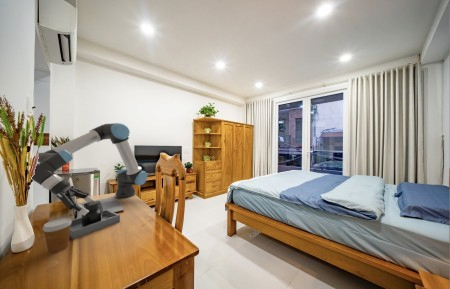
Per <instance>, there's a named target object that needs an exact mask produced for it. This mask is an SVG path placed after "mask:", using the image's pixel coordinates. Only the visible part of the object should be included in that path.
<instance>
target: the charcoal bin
mask: <svg viewBox="0 0 450 289" xmlns="http://www.w3.org/2000/svg"><path fill="white" fill-rule="evenodd" d="M101 212H102V221H99V222H97V223H94V224H91V225H88V226H85V227H82V216H81V217H78V218H74V219H70V220H71V221H72V223H71V225H70V233H69V239H71V240H76V239H78V238H81V237H85V236H87V235H89V234H91V233H94V232H97V231H99V230H102V229H104V228H107V227H110V226H112V225H115V224H117V223H120V222H121V215H120V214H118V213H116V212H114V211H112V210H110V209H104V210H101Z"/></svg>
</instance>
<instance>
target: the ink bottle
mask: <svg viewBox="0 0 450 289" xmlns="http://www.w3.org/2000/svg"><path fill="white" fill-rule="evenodd" d="M83 207H84V208H85V209H87V210H88V211H89V212H88V213H87V214H86V215H85V216H84V215H82V214H81V217H82V227H85V226H88V225H91V224H94V223H97V222H99V221H102V212H101V211H102V210H101V209H100V201H97V200H95V201H93V202H86V203H84V204H83Z"/></svg>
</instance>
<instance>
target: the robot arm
mask: <svg viewBox="0 0 450 289" xmlns="http://www.w3.org/2000/svg"><path fill="white" fill-rule="evenodd" d="M129 136H130V129H129V127H128V126H127V125H126V124H124V123H119V122H115V123H114V122H113V123H104V124H101V125H99V126H97V127H94V128H92V129H90V130H89V131H88V132H87V133H85V134H82V135H80V136H78V137H76V138H74V139H72V140H69V141H66V142H65V143H63V144H62V143H61V144H60V145H58V146H56V147H53V148H51V149H49V150H46V151H45V152H39V159H38V162H37V166H36V169H35V175H34V176H33V177H32V179H33V180H32V179H31V180H32V181H34V182H35V183H36V184H38V185H40V186H41V187H42V188H44V189H46V190H47V191H49V192H50V193H51V194H54V196H55V195H56V198H57V199H59V200H60V201H61V202H62V204H63V205H64V206H65V207H66V208H67V210H70V211H71V210H75V211H76V212H77V213H80V214H81V216H82V215H84V216H85V215H86V214H87V213H88V212H89V211H88V210H87V209H85V208H84V206H82V205H81V204H79V203H77V202H76V201H75V199H74V197H76V198H80V199H83V201H85V202H86V203H88V202H93V201H96V200H95V199H94V198H92V197H91V196H89V195H90V193H88V192H86V191H84V190H81V189H80V188H77V187H75V186H73V185H71V186H70V187H69V185H70V183H69V182H68V181H67V180H65V179H63V177H61V176H60V175H58V174H57V173H56V172H57V171H58V170H60V169H61V168H63V167H64V166H65V165H67V164H69V163H70V162H72V161H73V159H74V156H73V154H74V153H76V152H78V151H80V150H82V149H84V148H86V147H88V146H90V145H91V144H94V143H95V142H97V143H99V142H101V141H103V140H110V142H111V143H112V145H115V147H116V149H117V150H118V153H119V155H120V158H121V160H122V162H123V164H124V166H125V168H123V169H118V170H117V172H116V180H117V182H116V184H117V188H116V189H115V190H116V191H115V193H114V196H115V197H114V198H117V199H126V198H131V197H133V196H135V194H136V190H135V188H134V186H143V185H144V184H145V183H146V182H147V179H148V173H147V172H146V171H145V170H143V168H142V166H139V164H138V161H137V160H136V157H135V155H134V153H133V151H132V148H131V145H130V143H129V139H130V137H129Z"/></svg>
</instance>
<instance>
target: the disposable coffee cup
mask: <svg viewBox="0 0 450 289" xmlns="http://www.w3.org/2000/svg"><path fill="white" fill-rule="evenodd" d="M71 220H72V219H71V218H70V217H61V218H56V219H53V220H50V221H48V222H46V223H44V224H43V227H42V230H43V233H44V237H45V242H46V245H47V250H48V253H52V254H53V253H54V254H55V253H57V252H61V251H63V250H65V249H66V248H68V246H69V239H70V237H69V233H70V225H71V223H72V221H71Z"/></svg>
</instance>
